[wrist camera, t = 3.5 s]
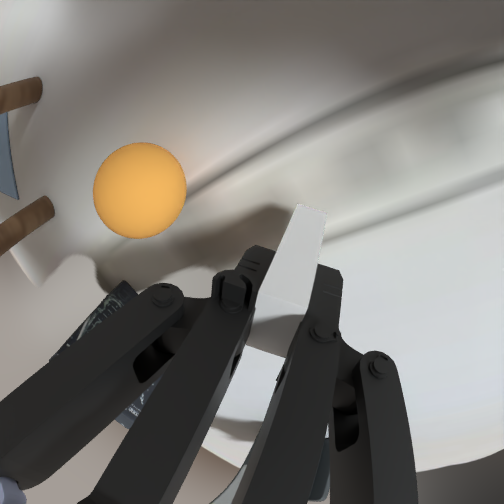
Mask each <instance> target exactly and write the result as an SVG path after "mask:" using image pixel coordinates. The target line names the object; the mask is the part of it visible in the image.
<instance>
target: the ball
mask: <svg viewBox="0 0 504 504" xmlns="http://www.w3.org/2000/svg"><path fill="white" fill-rule="evenodd" d="M185 198H186V179H185V175H184V172H183V169H182V167H181V165H180V164H179V162H178V161H177V159H176V158H175V157H174V156H173V155H172V154H171V153H170V152H169V151H167V150H166V149H164V148H162V147H160V146H158V145H155V144H151V143H132V144H129V145H126V146H123V147H121V148H119V149H117V150H116V151H114V152H113V153H112V154H111V155H109V156H108V157H107V159H106V160H105V161H104V162H103V163H102V165H101V167H100V168H99V170H98V172H97V174H96V177H95V181H94V186H93V200H94V205H95V208H96V211H97V213H98V215H99V217H100V219H101V220H102V221H103V223H104V224H105V225H106V226H107V227H108V228H109V229H111V230H112V231H113V232H115V233H117V234H119V235H121V236H124V237H127V238H134V239H142V238H148V237H152V236H155V235H157V234H159V233H161V232H163V231H164V230H165V229H167V228H168V227H169V226H170V225H171V224H172V223H173V222H174V221H175V220H176V219H177V217H178V216H179V214H180V212H181V210H182V208H183V205H184V202H185Z"/></svg>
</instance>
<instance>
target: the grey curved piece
mask: <svg viewBox="0 0 504 504" xmlns="http://www.w3.org/2000/svg"><path fill="white" fill-rule="evenodd" d="M260 430H261V429H260ZM259 432H260V431H259ZM258 435H259V433H258ZM258 435H257V437H256V439H255V442H254V444H253V446H252V448H251V450H250V452H249V454H248V456H247V458H246V460H245V461H244V463H243V465H242V467H241V468H240V470H239V472H238V473H237V475H236V476H235V478H234V479H233V480H232V482H231V483H230V484H229V485H228V487H227V488H226V489H225V490H224V491H223V492H222V493H221V494H220V495H219V496H218V497H217V498H215V499H214V500H213V501H212V502H211V503H209V504H231V502H232V500H233V498H234V496H235V493H236V491H237V488H238V486H239V484H240V481H241V479H242V476H243V474H244V471H245V469H246V466H247V464H248V461H249V459H250V456H251V454H252V451H253V448H254V446H255V443H256V440H257V438H258ZM329 489H330V454H329V438H327V439H324V443H323V448H322V452H321V456H320V460H319V464H318V467H317V471H316V475H315V478H314V482H313V485H312V489H311V492H310V495H309V499H308V501H314V502H315V501H316V502H318V501H319V502H321V501H324V500H325V499H326V498H327V495H328V492H329Z"/></svg>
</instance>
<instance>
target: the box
mask: <svg viewBox="0 0 504 504" xmlns="http://www.w3.org/2000/svg"><path fill="white" fill-rule="evenodd" d="M137 295H138V294H137V293H136V292H135V291H134V290H133V288H132V287H131V286H130V285H129V284H128V283H127V282H126V281H122V282H121V283H120V284H119V285H118V286H117V287H116V288H114V289H113V291H111V293H110V294H109V295H107V296H106V298H105V299H103V301H102V302H101V303H100V305H99V306H98V307H97V308H96V309H95V310H94V311H93V312H92V313H91V314H90V315H89V316H88V317H87V319H86V320H85V321H84V322H83V323H82V324H81V325H80V326H79V327H78V329H77V330H76V331H75V332H74V333H73V334H72V335H71V337H69V339H68V340H67V341H66V342H65V343H64V344H63V346H62V347H61V348H60V349H59V350H58V351H57V352H56V353H55V354H54V355H53V356H52V357H51V359H49V362H50V361H51V360H52V359H54V358H55V357H56V356H57V355H59V354H60V353H61V352H63V351H64V350H65V349H66V348H68V347H69V346H70V345H72V344H73V343H74V342H76V341H77V340H78V339H79V338H81V337H82V336H83V335H85V334H86V333H87V332H89V331H90V330H91V329H93V328H94V327H95V326H97V325H98V324H99V323H101V322H102V321H103V320H105V319H106V318H107V317H109V316H110V315H111V314H113V313H114V312H115V311H117V310H118V309H120V308H121V307H122V306H124V305H125V304H126V303H128V302H129V301H130V300H132V299H133V298H135V297H136V296H137ZM163 374H164V373H163ZM163 374H162V375H163ZM162 375H161V376H160V377H159V378H158V379H157V380H156V381H155V382H154V383H153V384H152V385H151V386H150V387H149V388H148V389H147V390H146V391H144V392H143V393H142V394H141V395H140V396H139V397H138V398H137V399H136V400H135V401H134V402H133V403H132V404H131V405H130V406H128V407H127V408H126V409H125V410H124V411H123V412H122V413H121V414H120V415H119V416H118V417H117V418H115V419H114V420H116V421H117V422H119V423H120V424H121V425H123V426H124V427H125V428H127V429H130V428H131V426H132V425H133V423H134V421H135V420H136V418H137V416H138V415H139V413H140V411H141V410H142V408H143V406H144V405H145V403H146V402H147V400H148V398H149V397H150V395H151V393H152V392H153V390H154V388H155V387H156V385H157V384H158V382H159V380H160V379H161V377H162Z"/></svg>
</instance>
